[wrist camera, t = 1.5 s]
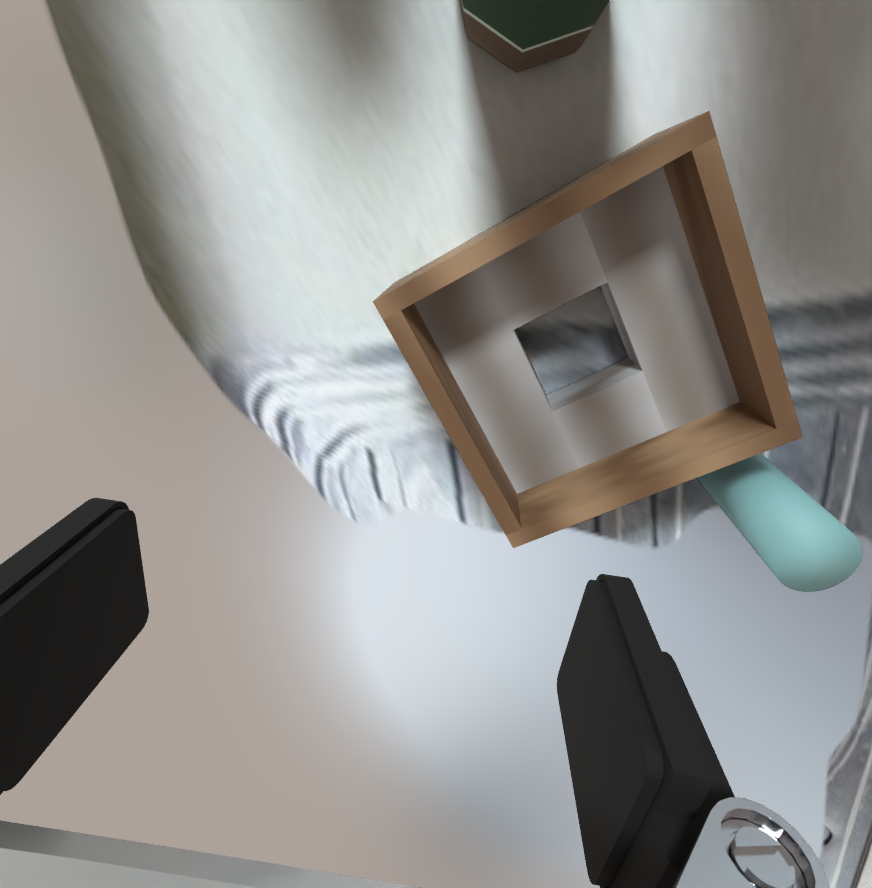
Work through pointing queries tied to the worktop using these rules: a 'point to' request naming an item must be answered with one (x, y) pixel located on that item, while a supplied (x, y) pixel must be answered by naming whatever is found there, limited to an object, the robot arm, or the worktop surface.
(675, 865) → the robot arm
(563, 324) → the worktop surface
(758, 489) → the peg
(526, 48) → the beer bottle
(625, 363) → the box
